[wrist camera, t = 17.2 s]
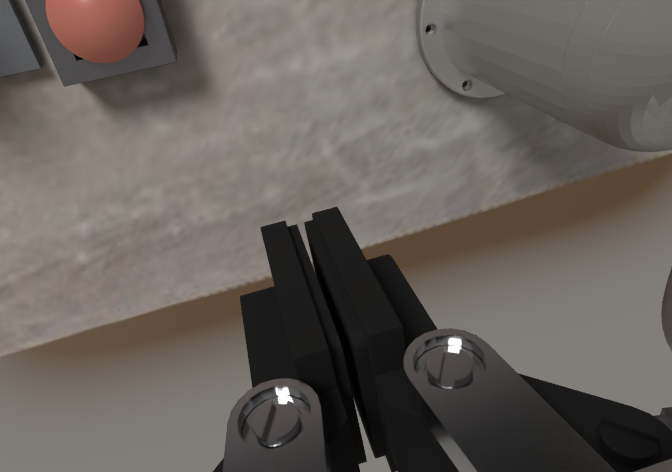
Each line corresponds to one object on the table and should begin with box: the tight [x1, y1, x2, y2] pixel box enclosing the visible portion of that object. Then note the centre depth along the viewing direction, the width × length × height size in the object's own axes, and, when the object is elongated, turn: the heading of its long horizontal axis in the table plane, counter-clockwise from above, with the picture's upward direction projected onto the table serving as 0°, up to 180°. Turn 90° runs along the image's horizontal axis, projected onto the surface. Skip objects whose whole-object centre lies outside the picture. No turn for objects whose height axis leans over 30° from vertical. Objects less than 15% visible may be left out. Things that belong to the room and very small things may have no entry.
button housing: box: [25, 0, 177, 87], centre depth 31 cm, size 7×7×3 cm
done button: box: [46, 0, 145, 63], centre depth 31 cm, size 5×5×3 cm
